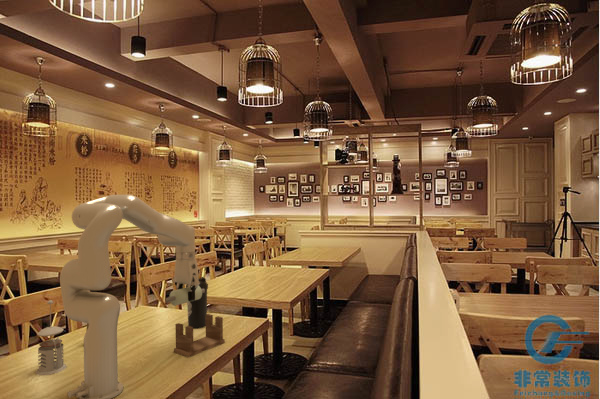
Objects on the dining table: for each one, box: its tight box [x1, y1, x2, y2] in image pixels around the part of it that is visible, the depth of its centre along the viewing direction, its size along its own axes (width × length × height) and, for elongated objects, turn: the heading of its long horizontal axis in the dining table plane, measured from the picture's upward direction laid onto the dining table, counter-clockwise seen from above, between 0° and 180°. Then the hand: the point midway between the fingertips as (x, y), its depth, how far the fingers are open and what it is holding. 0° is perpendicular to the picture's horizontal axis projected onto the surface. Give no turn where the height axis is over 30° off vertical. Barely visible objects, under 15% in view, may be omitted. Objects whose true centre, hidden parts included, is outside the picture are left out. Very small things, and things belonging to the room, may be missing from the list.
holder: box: [173, 313, 226, 358], centre depth 169 cm, size 19×9×11 cm, turn 144°
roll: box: [165, 286, 205, 307], centre depth 170 cm, size 19×6×6 cm, turn 146°
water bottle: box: [185, 276, 209, 330], centre depth 197 cm, size 10×10×23 cm
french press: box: [34, 299, 68, 376], centre depth 148 cm, size 10×12×25 cm
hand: (186, 299), depth 170 cm, fingers closed on roll, 6 cm apart
